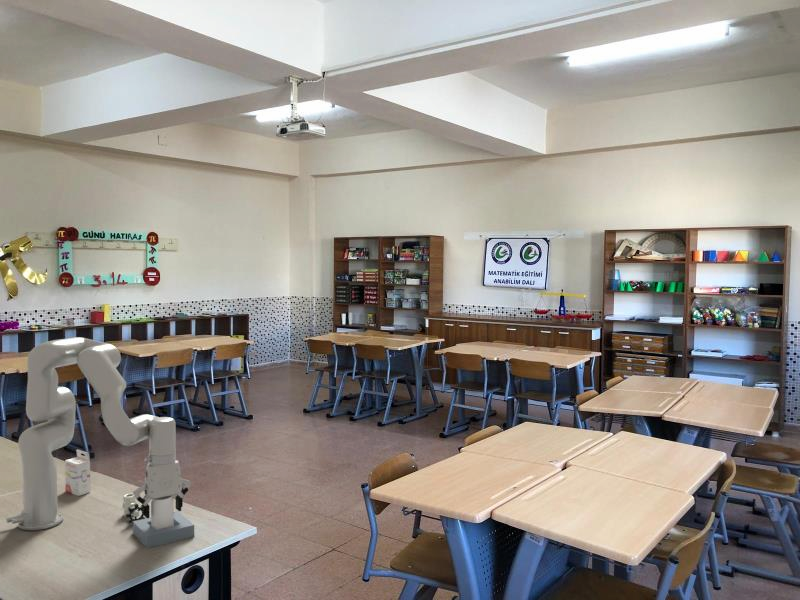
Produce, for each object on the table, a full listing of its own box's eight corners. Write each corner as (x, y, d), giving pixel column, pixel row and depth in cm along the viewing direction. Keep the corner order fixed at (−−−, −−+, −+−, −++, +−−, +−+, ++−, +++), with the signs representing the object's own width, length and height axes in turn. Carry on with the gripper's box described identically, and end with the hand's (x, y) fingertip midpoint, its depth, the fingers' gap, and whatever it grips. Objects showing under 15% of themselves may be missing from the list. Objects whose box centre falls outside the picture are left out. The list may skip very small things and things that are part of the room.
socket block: (147, 548, 190) (147, 536, 190) (132, 532, 201) (132, 521, 201) (194, 536, 199) (194, 524, 199) (178, 521, 210) (177, 511, 210)
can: (152, 540, 196) (152, 501, 195) (150, 532, 201) (149, 494, 201) (175, 536, 199) (174, 497, 198) (172, 528, 204) (171, 491, 204)
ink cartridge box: (64, 491, 237) (63, 451, 236) (77, 488, 241) (76, 448, 240) (78, 496, 232) (77, 455, 231) (91, 492, 236) (90, 452, 235)
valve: (117, 515, 215) (126, 527, 206) (117, 495, 215) (125, 506, 205) (138, 510, 219) (147, 522, 209) (138, 491, 219) (147, 502, 209)
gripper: (137, 466, 191) (137, 523, 191) (195, 456, 201) (194, 510, 202) (129, 460, 196) (129, 516, 197) (186, 450, 207) (186, 503, 208)
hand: (162, 513), depth 200 cm, fingers open, 9 cm apart
